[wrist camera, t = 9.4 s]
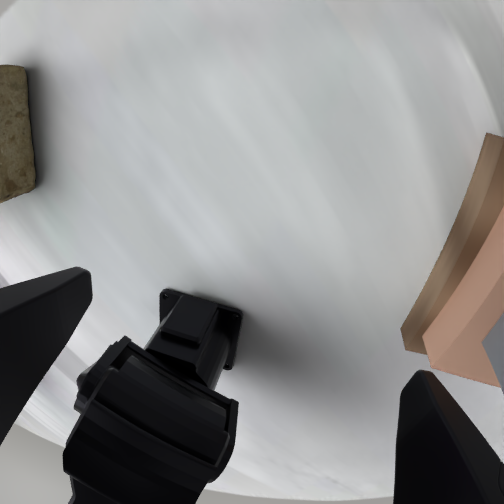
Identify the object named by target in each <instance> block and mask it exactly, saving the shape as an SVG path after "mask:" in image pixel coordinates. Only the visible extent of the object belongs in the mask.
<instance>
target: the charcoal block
mask: <svg viewBox="0 0 504 504" xmlns="http://www.w3.org/2000/svg"><path fill="white" fill-rule="evenodd" d="M481 343H482V345H483V347H484V349H485V351H486V353H487V356H488V358H489V360H490V362H491V365H492V367H493V369H494V372H495V374H496V376H497V379H498V381H499V384H500V386H501V389H502V391H503V394H504V313H503V314H502V315H501V317H500V318H499V320H498V321H497V322H496V324H495V325H494V327H493V328H492V329H491V331H490V332H489V333H488V335H487V336H486V337H485V339H484V340H483V341H482V342H481Z"/></svg>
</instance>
